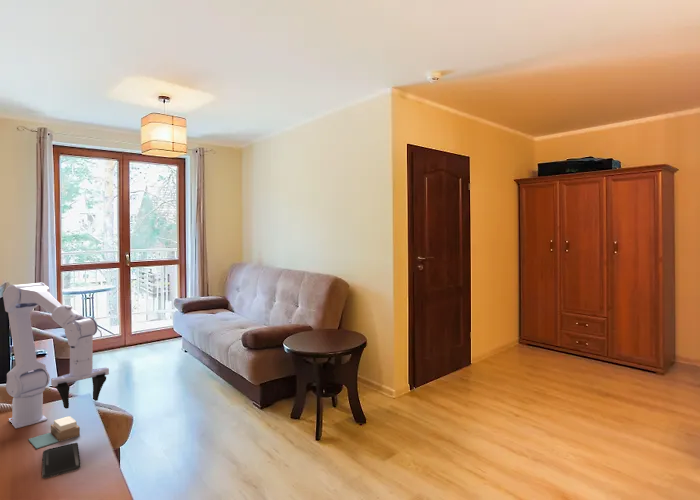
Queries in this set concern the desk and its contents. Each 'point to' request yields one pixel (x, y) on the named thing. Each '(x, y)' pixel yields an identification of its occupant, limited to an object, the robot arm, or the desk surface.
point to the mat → (43, 440)
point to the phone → (60, 460)
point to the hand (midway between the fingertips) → (81, 403)
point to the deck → (65, 433)
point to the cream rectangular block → (65, 423)
